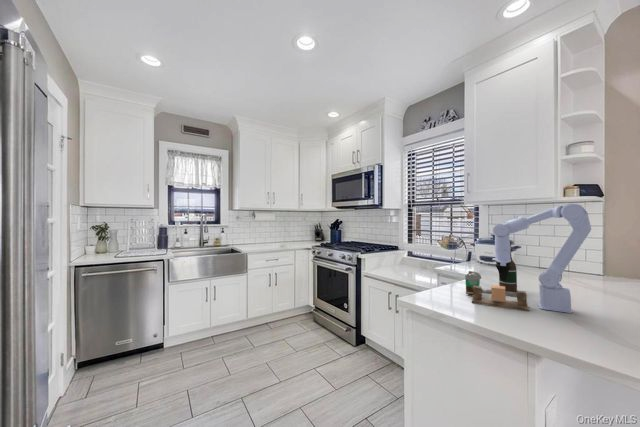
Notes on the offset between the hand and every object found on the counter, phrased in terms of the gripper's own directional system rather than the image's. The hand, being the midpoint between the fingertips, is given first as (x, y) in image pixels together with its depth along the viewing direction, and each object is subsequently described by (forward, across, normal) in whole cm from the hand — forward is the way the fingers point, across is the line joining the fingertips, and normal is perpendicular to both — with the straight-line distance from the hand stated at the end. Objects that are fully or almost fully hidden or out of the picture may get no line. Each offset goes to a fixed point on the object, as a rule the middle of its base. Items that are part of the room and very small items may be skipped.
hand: (503, 278), depth 120 cm
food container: (+10, -3, -12) cm, 16 cm away
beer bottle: (+10, -17, +2) cm, 20 cm away
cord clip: (+7, +9, -2) cm, 12 cm away
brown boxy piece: (+9, +9, -2) cm, 13 cm away
